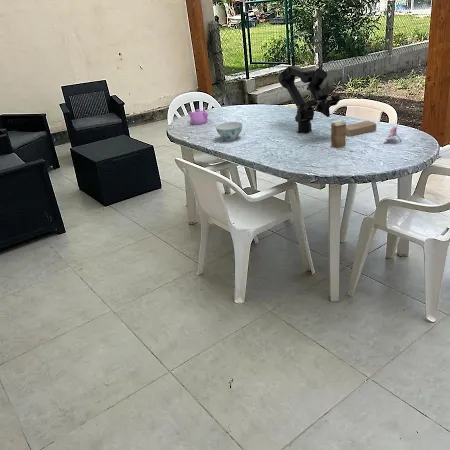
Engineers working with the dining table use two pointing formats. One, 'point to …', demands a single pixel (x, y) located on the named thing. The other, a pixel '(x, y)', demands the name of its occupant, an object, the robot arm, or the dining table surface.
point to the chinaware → (229, 130)
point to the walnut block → (338, 133)
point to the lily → (393, 132)
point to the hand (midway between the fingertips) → (328, 116)
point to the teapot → (198, 117)
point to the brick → (360, 128)
